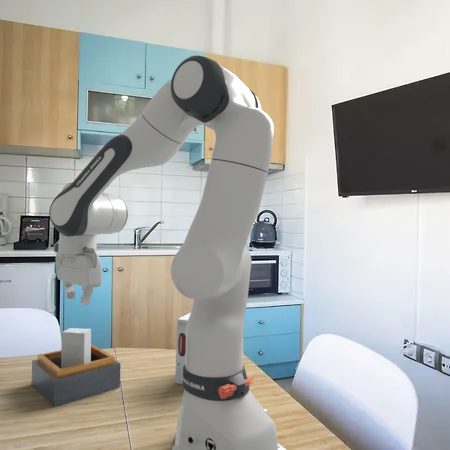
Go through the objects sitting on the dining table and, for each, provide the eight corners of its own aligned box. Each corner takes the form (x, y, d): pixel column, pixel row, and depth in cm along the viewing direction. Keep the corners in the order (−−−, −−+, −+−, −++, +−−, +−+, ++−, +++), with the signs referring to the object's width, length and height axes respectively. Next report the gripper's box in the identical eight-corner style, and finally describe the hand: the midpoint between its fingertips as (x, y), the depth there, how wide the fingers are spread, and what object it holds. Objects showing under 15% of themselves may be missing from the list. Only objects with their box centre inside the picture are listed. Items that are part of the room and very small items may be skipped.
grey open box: (119, 387, 95) (120, 357, 95) (54, 407, 84) (54, 373, 84) (88, 365, 109) (88, 339, 109) (27, 380, 98) (28, 351, 98)
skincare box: (91, 374, 98) (92, 328, 98) (83, 381, 93) (84, 333, 93) (68, 373, 98) (69, 327, 98) (59, 380, 94) (61, 332, 94)
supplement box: (174, 383, 98) (175, 318, 98) (188, 370, 107) (190, 311, 107) (208, 389, 95) (210, 322, 95) (220, 375, 104) (222, 314, 104)
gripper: (109, 248, 90) (108, 306, 90) (75, 244, 105) (74, 294, 105) (82, 248, 86) (82, 309, 86) (51, 245, 101) (50, 297, 101)
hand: (77, 301), depth 96 cm, fingers open, 8 cm apart
